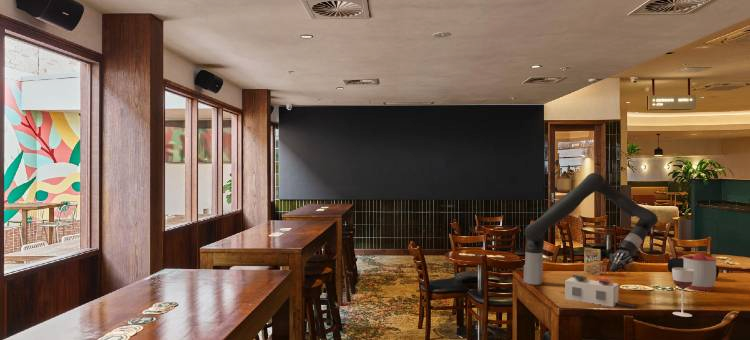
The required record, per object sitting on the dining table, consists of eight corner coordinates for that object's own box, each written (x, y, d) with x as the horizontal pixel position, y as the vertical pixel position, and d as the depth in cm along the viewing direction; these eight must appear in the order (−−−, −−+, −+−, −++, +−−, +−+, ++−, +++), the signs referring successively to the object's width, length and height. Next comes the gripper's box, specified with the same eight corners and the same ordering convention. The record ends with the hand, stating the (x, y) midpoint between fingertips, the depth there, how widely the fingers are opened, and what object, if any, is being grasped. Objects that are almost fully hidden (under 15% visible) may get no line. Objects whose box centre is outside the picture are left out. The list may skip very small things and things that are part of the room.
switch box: (564, 299, 255) (564, 280, 254) (571, 295, 263) (571, 277, 263) (631, 310, 236) (632, 290, 236) (636, 305, 245) (636, 286, 245)
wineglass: (667, 311, 234) (668, 267, 234) (685, 311, 235) (686, 267, 235) (678, 316, 226) (679, 270, 226) (697, 316, 227) (698, 270, 227)
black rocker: (572, 278, 253) (573, 274, 253) (578, 280, 260) (578, 276, 260) (581, 280, 250) (581, 275, 251) (586, 281, 257) (586, 277, 258)
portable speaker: (666, 273, 324) (666, 257, 324) (674, 272, 329) (674, 256, 329) (711, 281, 303) (712, 264, 303) (719, 279, 308) (719, 262, 308)
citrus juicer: (714, 287, 287) (715, 251, 287) (718, 293, 272) (718, 255, 272) (681, 283, 294) (682, 248, 294) (683, 290, 279) (683, 252, 279)
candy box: (583, 273, 319) (584, 248, 319) (585, 272, 323) (585, 247, 323) (599, 275, 315) (599, 250, 315) (600, 274, 318) (600, 249, 318)
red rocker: (596, 282, 246) (596, 277, 247) (601, 283, 253) (601, 279, 254) (605, 283, 244) (605, 278, 244) (610, 284, 251) (610, 280, 251)
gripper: (615, 237, 263) (596, 263, 258) (638, 241, 251) (618, 268, 246) (623, 247, 265) (604, 273, 260) (645, 251, 253) (626, 278, 248)
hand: (611, 270), depth 253 cm, fingers closed
